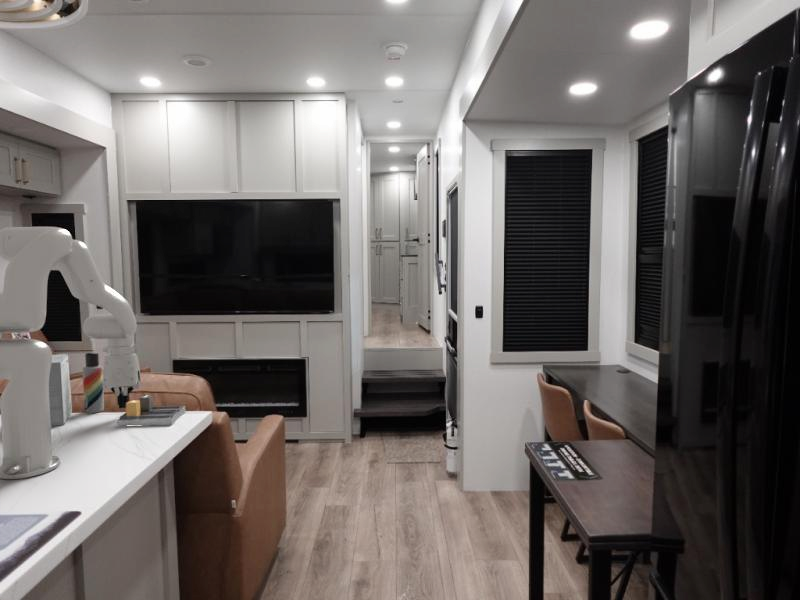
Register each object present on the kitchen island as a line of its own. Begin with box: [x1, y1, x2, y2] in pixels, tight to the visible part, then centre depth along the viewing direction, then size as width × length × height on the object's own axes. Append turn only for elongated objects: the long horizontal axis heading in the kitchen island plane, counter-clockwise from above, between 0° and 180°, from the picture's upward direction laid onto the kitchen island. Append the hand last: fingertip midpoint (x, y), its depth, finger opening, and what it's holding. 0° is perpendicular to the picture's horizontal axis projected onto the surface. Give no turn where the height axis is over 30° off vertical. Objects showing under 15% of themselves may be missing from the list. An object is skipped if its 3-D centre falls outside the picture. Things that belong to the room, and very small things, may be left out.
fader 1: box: [125, 399, 140, 416], centre depth 161 cm, size 3×3×5 cm
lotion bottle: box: [82, 352, 105, 414], centre depth 174 cm, size 6×6×20 cm
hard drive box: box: [49, 353, 73, 427], centre depth 164 cm, size 16×8×20 cm, turn 25°
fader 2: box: [138, 394, 154, 411], centre depth 167 cm, size 3×3×5 cm
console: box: [116, 405, 187, 427], centre depth 165 cm, size 14×16×3 cm
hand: (123, 406), depth 167 cm, fingers closed
